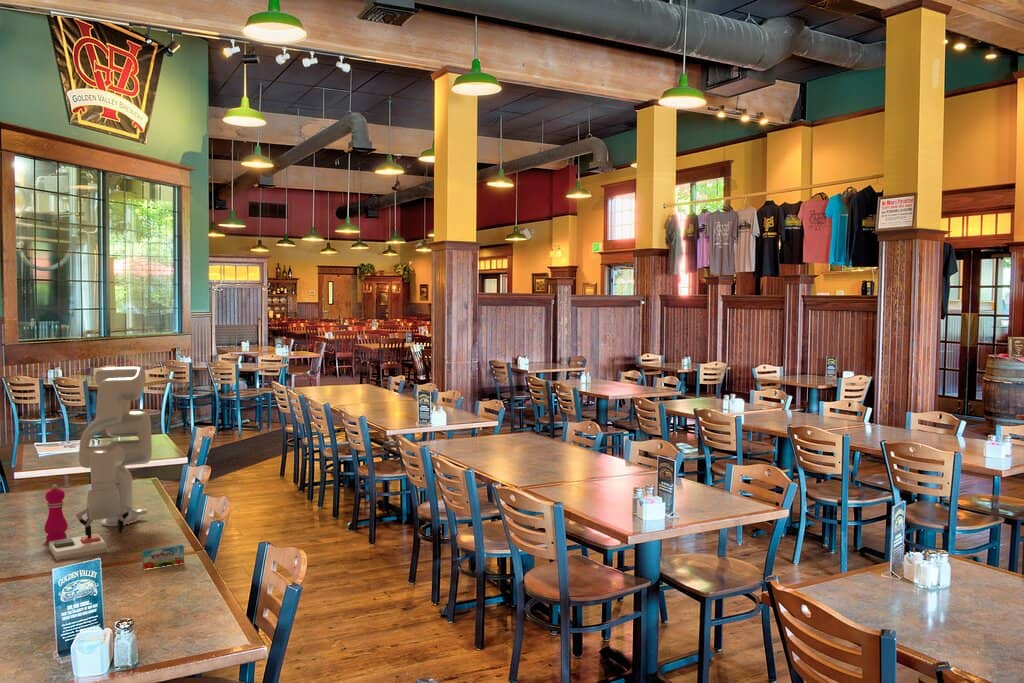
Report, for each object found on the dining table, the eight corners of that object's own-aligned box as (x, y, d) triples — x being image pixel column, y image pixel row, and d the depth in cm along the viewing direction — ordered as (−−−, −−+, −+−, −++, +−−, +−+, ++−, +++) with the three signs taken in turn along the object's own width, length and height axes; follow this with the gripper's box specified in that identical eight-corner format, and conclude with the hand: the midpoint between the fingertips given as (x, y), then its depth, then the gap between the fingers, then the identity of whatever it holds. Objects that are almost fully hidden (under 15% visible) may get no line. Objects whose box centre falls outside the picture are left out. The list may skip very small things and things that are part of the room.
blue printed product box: (143, 570, 253) (142, 551, 253) (142, 569, 254) (142, 550, 254) (184, 564, 259) (183, 545, 259) (183, 563, 260) (182, 544, 260)
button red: (97, 541, 280) (97, 534, 279) (100, 544, 276) (100, 537, 276) (81, 544, 277) (81, 536, 276) (83, 547, 273) (83, 540, 272)
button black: (71, 545, 275) (71, 538, 275) (74, 548, 271) (73, 541, 271) (54, 548, 272) (54, 540, 272) (57, 551, 268) (56, 544, 268)
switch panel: (97, 542, 284) (97, 533, 284) (106, 552, 272) (106, 543, 272) (49, 550, 275) (48, 541, 275) (56, 560, 263) (56, 551, 263)
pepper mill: (57, 543, 283) (55, 486, 282) (39, 542, 285) (38, 486, 284) (72, 537, 290) (71, 482, 289) (55, 536, 292) (53, 481, 291)
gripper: (127, 480, 286) (129, 528, 287) (73, 487, 276) (74, 536, 276) (132, 484, 280) (134, 532, 281) (77, 491, 270) (78, 541, 270)
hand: (104, 534), depth 279 cm, fingers open, 9 cm apart
